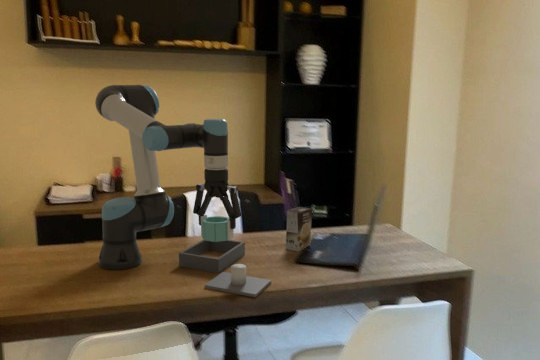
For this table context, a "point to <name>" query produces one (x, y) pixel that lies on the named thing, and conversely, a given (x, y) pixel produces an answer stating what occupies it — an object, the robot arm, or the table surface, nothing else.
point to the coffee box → (298, 228)
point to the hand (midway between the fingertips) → (217, 236)
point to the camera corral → (216, 265)
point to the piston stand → (238, 282)
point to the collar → (214, 228)
